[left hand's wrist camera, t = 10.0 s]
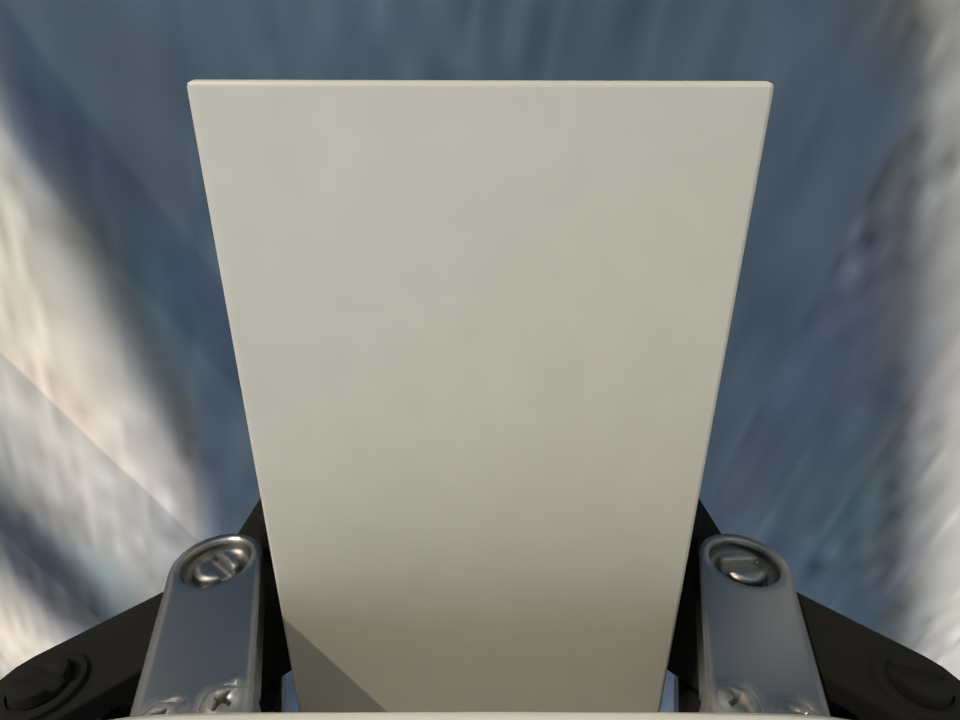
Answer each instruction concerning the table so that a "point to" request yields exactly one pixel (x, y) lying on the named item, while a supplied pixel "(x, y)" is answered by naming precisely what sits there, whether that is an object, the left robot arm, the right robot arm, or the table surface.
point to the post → (479, 370)
